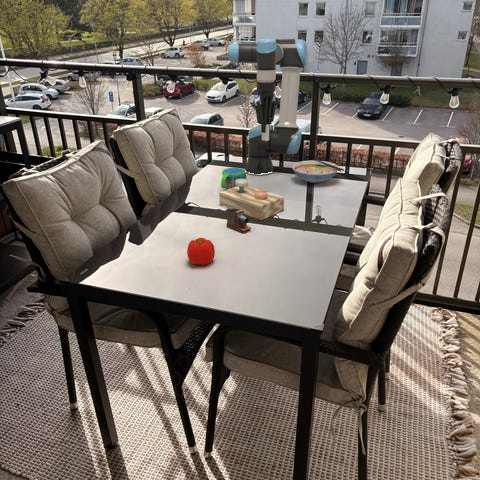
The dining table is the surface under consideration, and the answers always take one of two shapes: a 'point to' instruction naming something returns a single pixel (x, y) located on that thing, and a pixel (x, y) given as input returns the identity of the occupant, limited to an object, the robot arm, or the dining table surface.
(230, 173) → the snack cup
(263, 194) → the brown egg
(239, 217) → the electronic device
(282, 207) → the switch box
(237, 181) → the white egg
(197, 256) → the tomato
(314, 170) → the ramen bowl
